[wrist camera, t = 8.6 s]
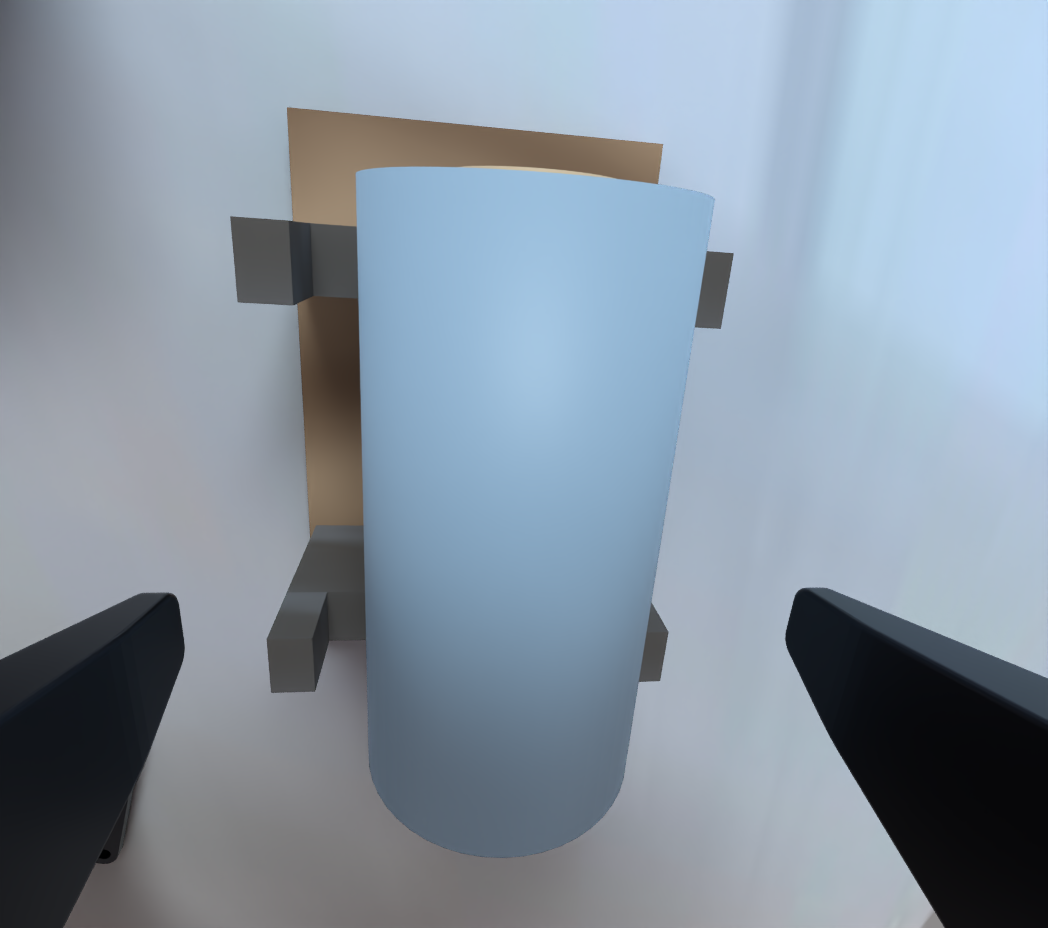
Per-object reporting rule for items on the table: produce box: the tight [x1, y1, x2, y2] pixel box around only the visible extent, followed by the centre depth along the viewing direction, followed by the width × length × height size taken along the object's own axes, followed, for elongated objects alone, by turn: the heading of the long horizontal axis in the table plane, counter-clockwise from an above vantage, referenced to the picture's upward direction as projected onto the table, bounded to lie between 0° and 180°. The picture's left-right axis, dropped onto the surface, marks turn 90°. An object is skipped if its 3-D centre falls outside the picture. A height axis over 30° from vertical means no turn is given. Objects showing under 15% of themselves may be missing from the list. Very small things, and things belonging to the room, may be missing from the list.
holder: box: [230, 107, 734, 693], centre depth 17 cm, size 16×10×7 cm, turn 176°
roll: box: [356, 166, 715, 858], centre depth 13 cm, size 12×6×6 cm, turn 176°
